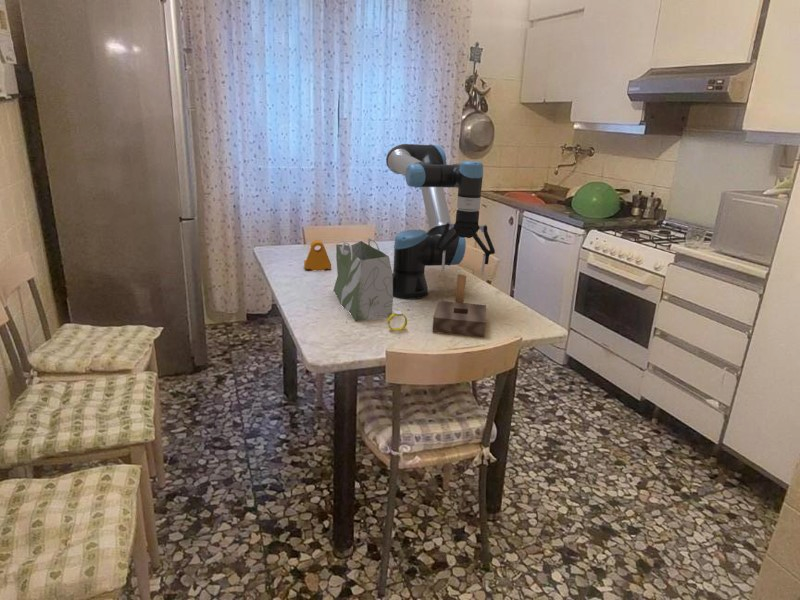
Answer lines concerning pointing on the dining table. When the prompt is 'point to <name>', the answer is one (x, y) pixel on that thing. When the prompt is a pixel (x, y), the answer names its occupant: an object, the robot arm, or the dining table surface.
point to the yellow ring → (397, 313)
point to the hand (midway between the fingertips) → (462, 271)
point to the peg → (460, 288)
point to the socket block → (460, 319)
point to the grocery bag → (364, 281)
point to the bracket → (317, 257)
